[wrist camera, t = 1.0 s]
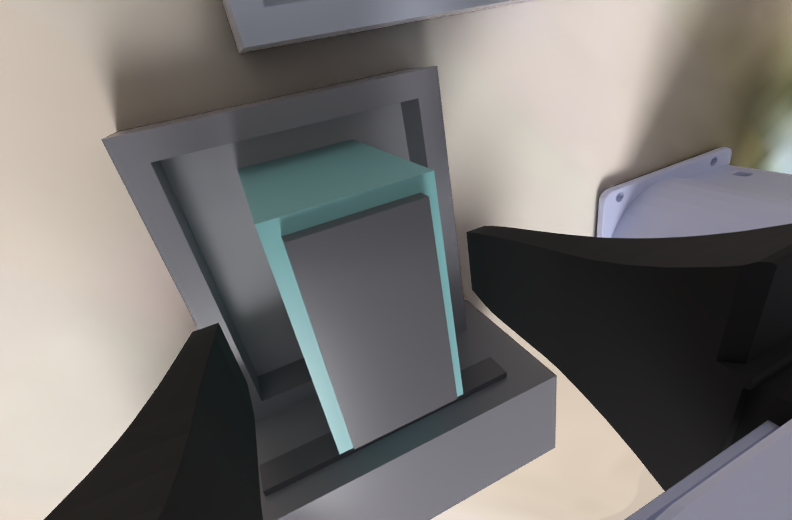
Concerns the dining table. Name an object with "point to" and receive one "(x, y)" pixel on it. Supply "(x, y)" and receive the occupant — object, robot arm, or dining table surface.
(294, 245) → the teal block grey face
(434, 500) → the bay
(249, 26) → the tray
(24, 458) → the dining table surface
